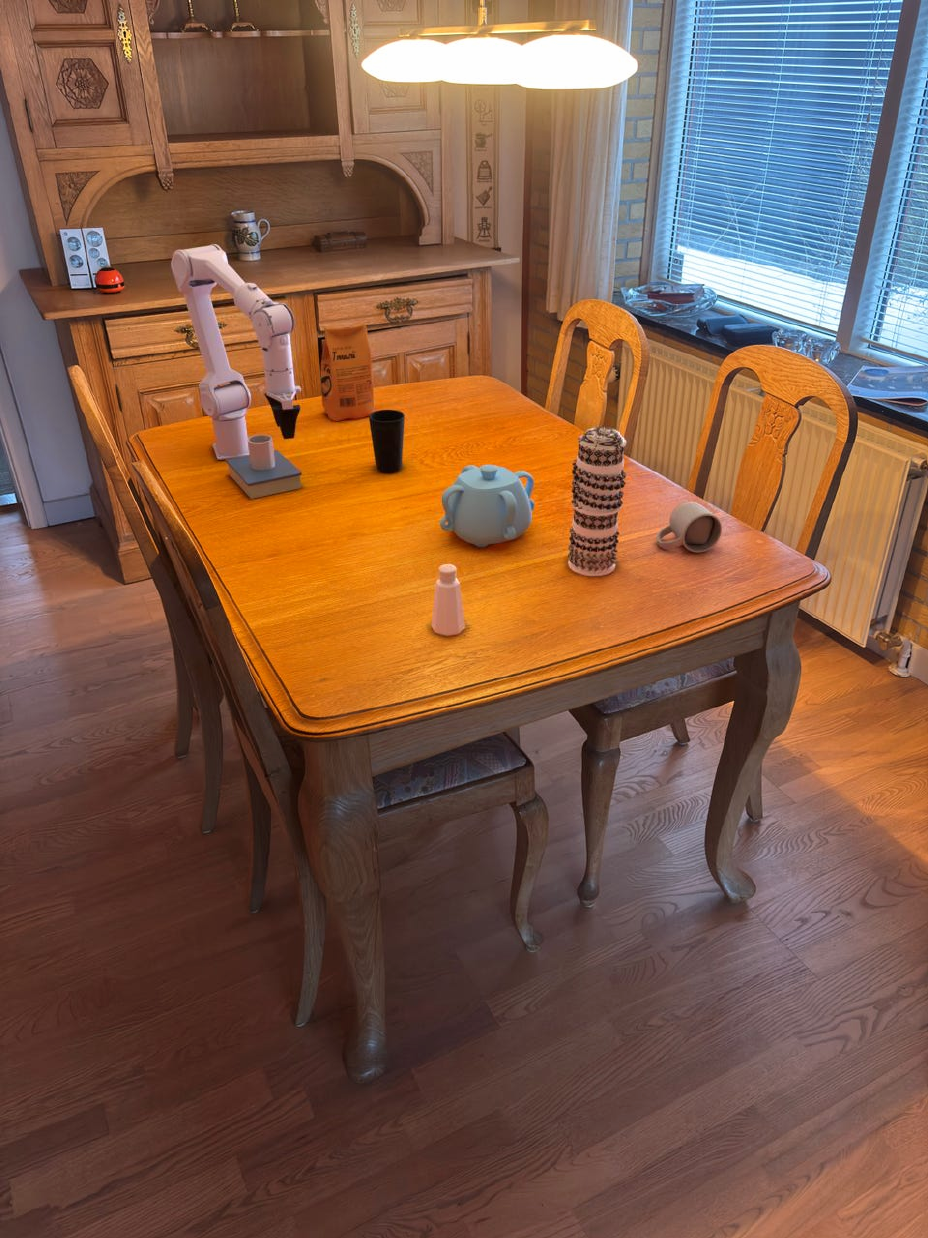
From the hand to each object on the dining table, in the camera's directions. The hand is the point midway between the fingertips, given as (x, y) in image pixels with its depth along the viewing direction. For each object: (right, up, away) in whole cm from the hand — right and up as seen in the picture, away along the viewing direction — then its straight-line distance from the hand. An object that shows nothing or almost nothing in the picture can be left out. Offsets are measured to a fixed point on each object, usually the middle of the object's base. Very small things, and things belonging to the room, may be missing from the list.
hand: (285, 431), depth 194 cm
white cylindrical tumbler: (-5, -7, +2) cm, 9 cm away
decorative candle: (+60, -30, -27) cm, 72 cm away
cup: (+21, -6, +10) cm, 24 cm away
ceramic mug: (+79, -25, -21) cm, 85 cm away
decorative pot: (+42, -23, -17) cm, 51 cm away
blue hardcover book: (-5, -10, +4) cm, 12 cm away
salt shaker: (+35, -41, -45) cm, 70 cm away
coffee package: (+8, +12, +40) cm, 42 cm away
